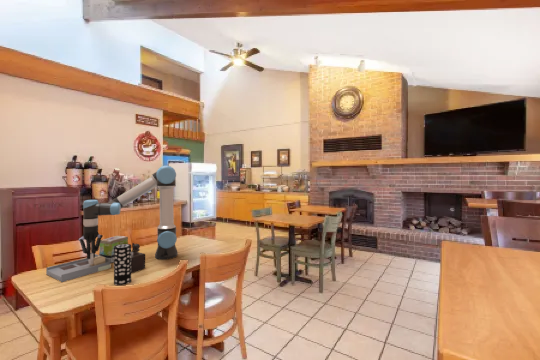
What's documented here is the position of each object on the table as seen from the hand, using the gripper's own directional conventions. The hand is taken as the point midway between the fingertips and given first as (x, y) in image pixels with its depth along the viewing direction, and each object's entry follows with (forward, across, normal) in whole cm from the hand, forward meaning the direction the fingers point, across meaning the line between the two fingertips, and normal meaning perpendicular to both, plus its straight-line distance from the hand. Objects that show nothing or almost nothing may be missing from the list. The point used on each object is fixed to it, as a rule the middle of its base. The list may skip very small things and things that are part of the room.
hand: (90, 263), depth 163 cm
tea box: (+4, -19, -9) cm, 21 cm away
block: (+1, -4, 0) cm, 4 cm away
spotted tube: (+4, -1, +33) cm, 33 cm away
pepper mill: (+4, -15, +22) cm, 27 cm away
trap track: (+4, +4, -4) cm, 7 cm away
